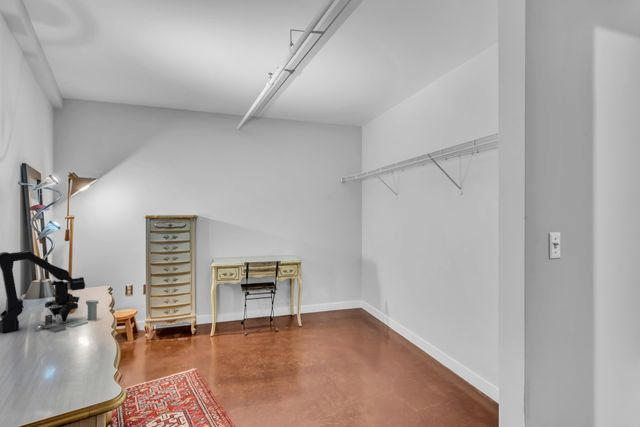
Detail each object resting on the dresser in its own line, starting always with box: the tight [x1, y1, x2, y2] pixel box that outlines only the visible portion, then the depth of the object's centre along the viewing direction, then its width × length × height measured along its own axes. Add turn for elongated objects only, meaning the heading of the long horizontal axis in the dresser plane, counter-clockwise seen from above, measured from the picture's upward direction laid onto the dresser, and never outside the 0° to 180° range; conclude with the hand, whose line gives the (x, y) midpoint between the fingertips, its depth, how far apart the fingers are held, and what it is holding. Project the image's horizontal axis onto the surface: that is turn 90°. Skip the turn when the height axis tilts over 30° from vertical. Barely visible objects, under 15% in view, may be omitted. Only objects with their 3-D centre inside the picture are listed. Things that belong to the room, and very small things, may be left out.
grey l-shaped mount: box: [62, 299, 99, 329], centre depth 182 cm, size 14×8×10 cm, turn 159°
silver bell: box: [55, 313, 68, 325], centre depth 182 cm, size 5×5×6 cm
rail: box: [38, 324, 67, 333], centre depth 171 cm, size 5×13×2 cm, turn 69°
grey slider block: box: [34, 314, 56, 330], centre depth 170 cm, size 8×4×6 cm, turn 159°
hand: (61, 320), depth 182 cm, fingers closed on silver bell, 5 cm apart
